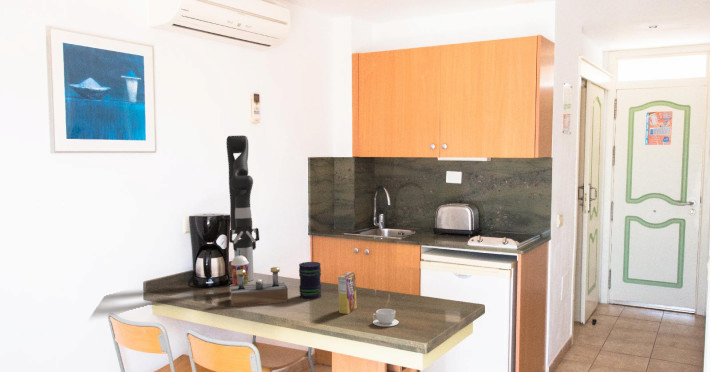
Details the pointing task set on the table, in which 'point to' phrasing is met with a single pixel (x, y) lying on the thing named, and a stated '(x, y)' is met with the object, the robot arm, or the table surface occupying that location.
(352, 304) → the candy box
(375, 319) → the teacup
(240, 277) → the knob
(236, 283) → the smoothie
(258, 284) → the cylinder
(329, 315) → the table surface
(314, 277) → the storage jar
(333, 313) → the table surface
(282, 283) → the mount
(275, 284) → the knob
